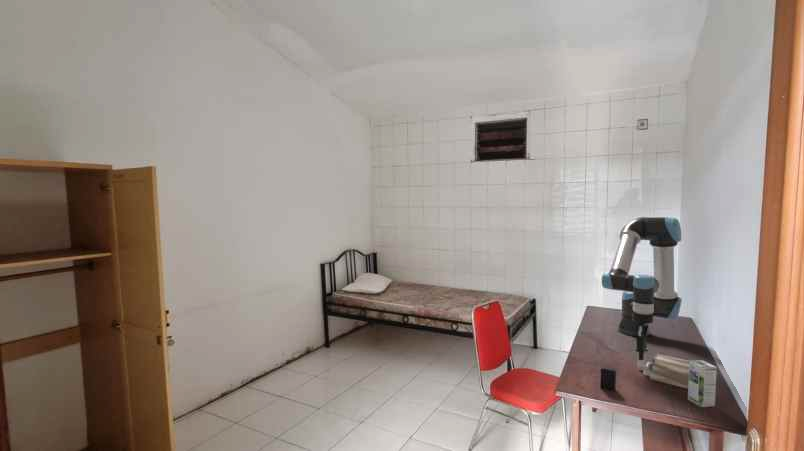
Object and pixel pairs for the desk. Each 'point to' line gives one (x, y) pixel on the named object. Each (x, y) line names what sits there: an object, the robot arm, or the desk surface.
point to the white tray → (647, 369)
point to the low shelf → (670, 370)
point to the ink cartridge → (608, 378)
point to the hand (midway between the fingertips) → (641, 366)
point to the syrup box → (702, 383)
